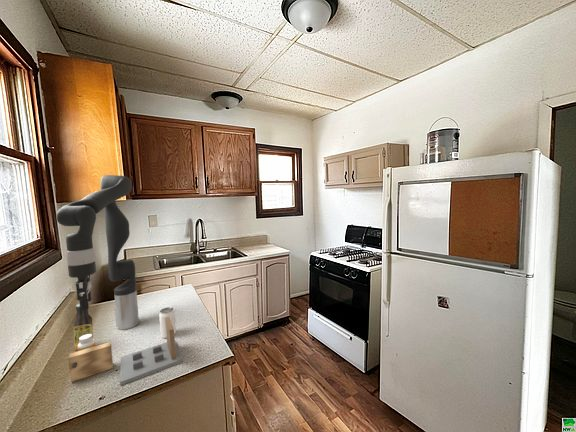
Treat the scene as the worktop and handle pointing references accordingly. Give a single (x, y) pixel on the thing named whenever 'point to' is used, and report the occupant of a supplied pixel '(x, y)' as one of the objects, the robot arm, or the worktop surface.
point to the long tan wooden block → (90, 361)
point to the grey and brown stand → (151, 358)
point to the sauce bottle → (82, 325)
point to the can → (163, 314)
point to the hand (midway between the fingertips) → (86, 305)
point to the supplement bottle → (86, 342)
